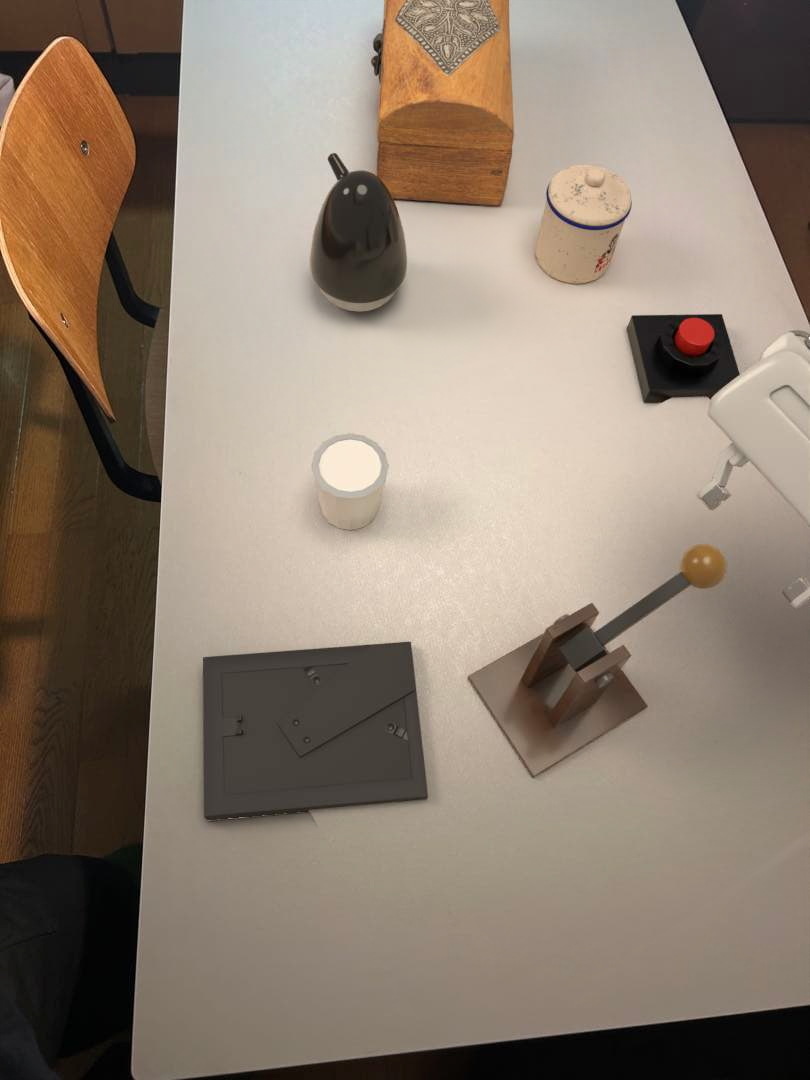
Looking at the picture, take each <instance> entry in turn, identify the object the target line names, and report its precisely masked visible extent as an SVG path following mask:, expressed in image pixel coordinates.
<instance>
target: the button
mask: <svg viewBox="0 0 810 1080" xmlns="http://www.w3.org/2000/svg"><path fill="white" fill-rule="evenodd" d="M713 338H714V330H713V328H712V326H711V325H710V324H709V323H708V322H706V321H704V320H702V319H699V318H688V319H686V320H684V321H683V322H682V323H681V324H680V326H679V328H678V331H677V333H676V335H675V338H674V341H675V344H676V346H677V348H678V349H679V350H680V351H681V352H683V353H686V354H688V355H691V356H698V355H702V354H704V353H705V352H706V351H707V350H708V348H709V346H710V344H711V342H712V340H713Z"/></svg>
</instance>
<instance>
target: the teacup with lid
mask: <svg viewBox="0 0 810 1080" xmlns="http://www.w3.org/2000/svg"><path fill="white" fill-rule="evenodd" d="M545 195H546V200H545V201H546V202H545V205H544V209H543V214H542V217H541V220H540V221H541V222H540V226H539V230H538V234H537V238H536V242H535V246H534V254H535V255H534V256H535V258H536V261H537V263H538V265H539V266H540V267H541V269H542V270H543V271H544V272H545V273H546V274H547V275H548V276H549V277H552V278H554V279H555V280H558V281H560V282H563V283H567V284H586V283H590V282H593V281H595V280H597V279H599V278H601V277H602V276H603V275H604V274H605V273H606V272H607V270H608V269H609V266H610V264H611V261H612V258H613V256H614V253H615V248H616V246H617V244H618V241H619V238H620V235H621V233H622V230H623V227H624V224H625V220H626V219H627V218H628V217H629V215H630V213H631V211H632V205H633V201H632V194H631V190H630V189H629V186H628V184H627V183H626V182H625V181H624V180H623V179H622V178H621V177H620V176H619V175H618V174H616V173H615V172H613V171H611V170H610V169H607V168H604V167H602V166H598V165H593V164H576V165H571V166H568V167H565V168H563V169H561V170H560V171H558V172H557V173H555V175H554V176H553V177H552V179H551V180H550V181H549V182H548V185H547V188H546V192H545Z"/></svg>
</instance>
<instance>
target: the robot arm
mask: <svg viewBox="0 0 810 1080" xmlns="http://www.w3.org/2000/svg"><path fill="white" fill-rule="evenodd" d="M798 337H801V338H803V339H804V341H803V342H802V340H800V338H798ZM707 416H708V417H709V418H710V420H711V421H712V422H714V424H715V425H716V426H717V427H718V428H719V429H720V431H722V433H723V434H724V435H725V436H726V437H727V438H728V439H729V440H730V441H731V443H730V444H729V445H728V446H726V447H725V448H724V449H723V450H722V451H721V452H720V453H719V456H718V459H717V462H716V465H715V467H714V471H713V474H712V476H711V481H709V482H708V483H707V484H705V485H704V486H703V487H702V488H701V489H700V490H699V491H698V492H697V493H696V494H695V496H696V497H697V498H698V500H699V501H700V502H701V503H702V504H703V506H705V507H706V508H707V510H711V511H714V510H716V509H717V508H718V507H720V506H721V505H722V502H726V501H727V500H728V499H729V498H730V497H731V496H732V494H731V493H730V491H729V490H728V489H727V488H726V487H727V484H728V482H729V480H730V476H731V474H732V472H733V469H734V467H737V468H742V467H744V466H746V464H747V463H749V462H750V463H751V464H752V466H753V467H754V468H755V469H756V470H757V471H758V472H759V473H760V475H762V476H763V478H764V479H765V480H766V481H767V482H768V483H769V484H770V485H771V486H772V487H773V488H774V490H775V491H776V492H777V493H778V494H779V495H780V496H781V497H782V498H783V499H784V501H786V503H787V504H788V505H789V506H790V507H791V508H792V509H793V511H795V513H796V514H797V515H798V516H799V517H800V518H801V519H802V520H803V522H805V523H806V525H808V527H810V332H807V331H804V330H799V329H797V330H790V331H786V332H783V333H782V334H780V335H779V336H778V337H777V338H776V339H775V340H773V341H772V342H771V343H770V345H768V346H767V347H766V348H765V349H764V350H763V351H762V353H761V354H760V356H759V360H758V362H756V363H755V364H753V365H752V366H750V367H749V368H747V369H746V370H744V371H743V372H741V373H740V375H739V376H737V377H736V378H735V379H733V380H732V381H731V382H729V383H728V384H727V385H726V386H724V387H723V388H722V389H721V390H719V391H718V392H717V393H716V394H715V395H714V396H713V397H712V398H711V400H710V399H709V405H708V409H707ZM780 593H781V595H782V596H783V597H784V598H785V599H786V601H787V602H788V603H789V605H790V606H791V607H793V609H798V608H800V607H801V606H803V605H804V604H806V603H807V602H809V601H810V581H809V580H808V579H807V578H806V577H805V576H803V577H802V576H801V577H798V578H797V579H796V580H795V581H793V582H792V583H791V586H787V587H785V589H783V590H782V591H781V592H780Z"/></svg>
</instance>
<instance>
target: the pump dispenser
mask: <svg viewBox="0 0 810 1080" xmlns="http://www.w3.org/2000/svg"><path fill="white" fill-rule="evenodd" d="M327 162H328V164H329V166H330V168H331V170H332V172H333V174H334V177H335V179H336V182H335V183H334V184H333V185H332V186H331V188H330V190H329V191H328V193H327V195H326V197H325V199H324V201H323V203H322V205H321V207H320V210H319V213H318V216H317V219H316V222H315V225H314V230H313V233H312V239H311V244H310V245H311V246H310V254H309V268H310V274H311V277H312V280H313V281H314V282H315V284H316V285H317V287H318V288H319V291H320V292H321V293H322V295H323V296H324V297H325V298H326V300H328V301H329V302H330V303H332V304H333V305H334V306H336V307H339V308H340V309H342V310H346V311H350V312H368V311H372V310H375V309H378V308H380V307H381V306H384V305H385V304H386V303H387V302H388V301H390V300H391V299H392V298H393V296H395V294H396V292H397V291H398V290H399V288H400V287H401V285H402V284H403V283H404V280H405V278H406V276H407V270H408V251H407V245H406V238H405V232H404V227H403V224H402V220H401V217H400V213H399V210H398V207H397V204H396V202H395V201H396V200H395V198H393V197H392V195H391V193H390V191H389V190H388V188H387V187H386V185H385V184H384V183H383V181H382V180H381V179H380V178H379V177H378V176H377V174H375V173H374V172H371V171H369V170H362V169H355V170H352V171H351V170H350V171H349V170H348V168H347V167H346V166H345V164H344V162H343V161H342V159H341V158H340V156H339V154H337V153H336V152H332V153H330V154H329V155H328V157H327Z"/></svg>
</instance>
